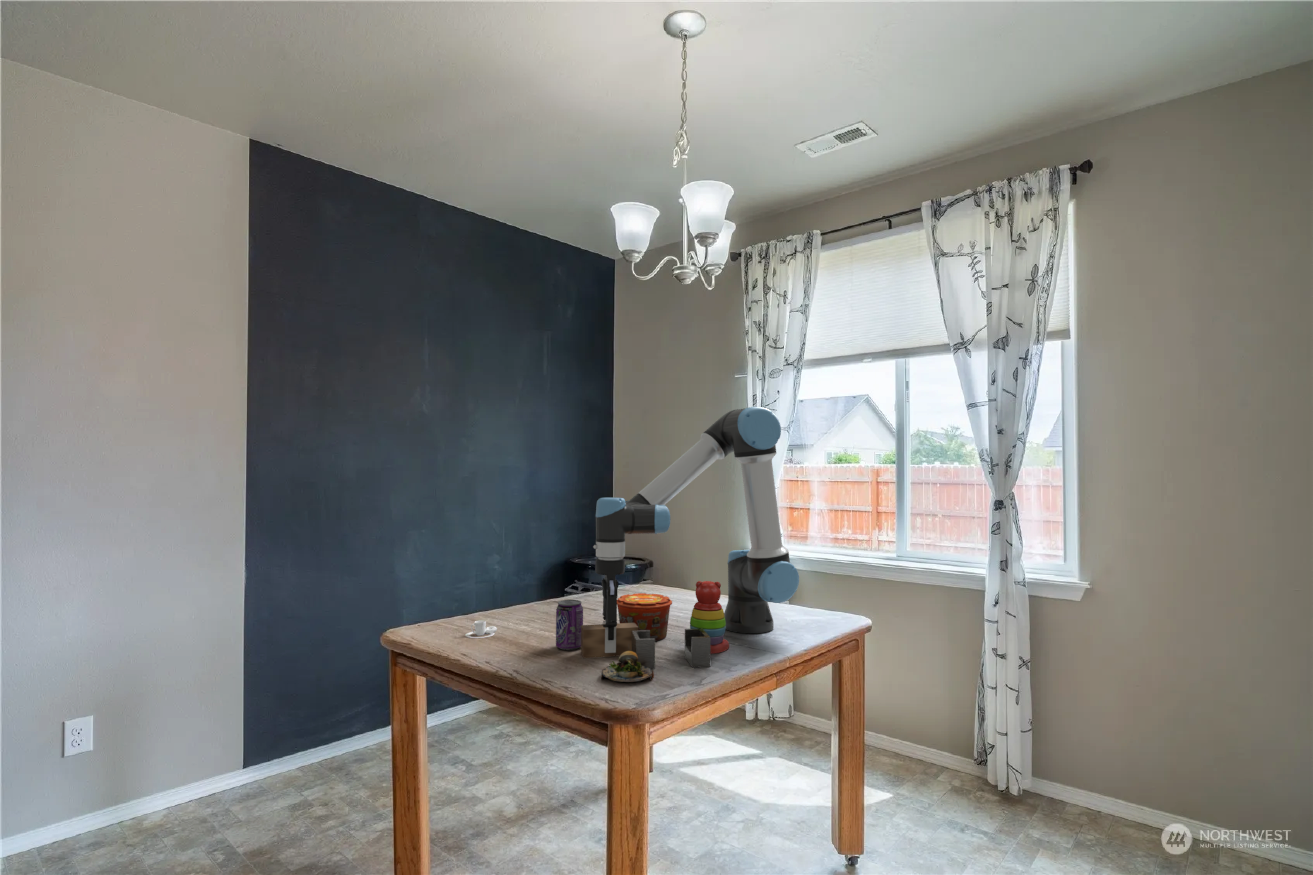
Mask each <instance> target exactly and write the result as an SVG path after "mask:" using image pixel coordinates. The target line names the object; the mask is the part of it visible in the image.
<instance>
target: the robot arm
mask: <svg viewBox="0 0 1313 875" xmlns="http://www.w3.org/2000/svg"><path fill="white" fill-rule="evenodd" d="M781 434H782V427H781V422H780V420H779V419H778V417H777V415H776V414H775V413H774V412H773V411H772V410H770V409H768V408H766V407H761V406H751V407H750V406H749V407H746V408H739V409H738V408H737V409H733V410H729V411H727V412H726V413H724V414H723V415H722V416H721V417H720V418H718V419H717V420H716V421H714V422H713V423H712V425H710V426H709V427H708V428H707V429H705V431H703V432H702V433H701V434H700V439H699V440H698V441H697V442H695V443H694V445H692V446H691V447H689V449H688V450H686V451H685V452H684V453H683V454H682V455H681V456H680V457H679V458H677V459H676V460H675V461H673V463H672V464H670V465H669V466H668V467H667V468H666V469H664V470H663V471H662V472H661V473H660V474H659V475H658V476H656V477H655V478H654V479H652V481H650V482H649V483H648V484H646V485H645V487H643V488H642V489H641V490H640V491H638V492H637V493H636V494H635V495H634V496H633V497H632V498H630V499H629V500H626V499H625V498H623V497H600V498H598V500H597V501H596V505H595V506H596V508H595V509H596V510H595V516H594V517H595V544H594V545H593V546H592V548H593V549H594V550H595V557H597V558H596V559H595V567H594V568H595V573H596V574H597V575H599V576H601V575H602V576H603V575H604V578H602V579H601V587H602V591H601V592H602V619H603V623H602V624H606V625H603V627H605V653H616V626H617V624H618V619H617V617H618V605H617V599H618V598H619V597H618V590H619V581H618V579H616V576H617V575H624V573H625V571H626V570H625V568H626V567H625V566H626V565H625V564H626V560H625V559H624V557H625V556H626V535H635V534H636V535H637V534H638V535H639V534H643V535H644V534H645V535H646V534H648V535H649V534H650V535H651V534H655V535H657V534H665V533H667V532H668V531H669V529H670V526H671V512H670V509H669V508H668V506H667V505H666V504H667V503H669V502H670V501H671V500H672V499H673V498H675V496H677V495H678V494H679V493H680V492H681V491H683V489H684V488H686V487H687V486H688V485H689V484H691V483H692V482H693V481H694V480H695V479H697V477H699V476H700V475H701V474H702V473H703V472H704V471H706V470H707V469H708V468H709V467H711V465H713V464H714V463H715V462H716V461H717V460H723V459H725V458H726V457H727V456H729V455H730V454H731V453H733V456H734V459H735V460H737V461H738V462H739V463H740V465H741V466H740V467H741V468H740V469H741V475H742V483H743V490H744V499H745V507H746V515H747V522H748V523H747V524H748V532H749V539H750V549H743V550H742V549H736V550H731V551H729V553H728V555H727V556H728V558H727V593H728V594H727V597H728V598H727V603H726V606H725V609H724V617H725V622H726V625H725V626H726V628H725V631H726V630H727V631H730V632H733V633H740V634H741V633H742V634H761V633H762V634H763V633H769V632H771V631H773V630H774V618H773V615H772V612H771V609H770V606H769V603H773V604H781V603H785V602H787V601H788V600H790V599H791V598H792V597H793V596H794V594H795V593H796V592H797V590H798V588H799V584H800V575H799V571H798V569H797V568H796V567H795V566H794V564H792V563H791V562H790V553H789V552H790V551H789V550H788V548H786V547H785V546H784V545H783V541H782V533H781V525H780V517H779V508H778V500H777V499H778V498H777V493H776V491H777V490H776V483H775V475H774V466H773V458H774V457H775V456H776V455H777V447H776V446H777V443H778V441H779V440H780V438H781Z"/></svg>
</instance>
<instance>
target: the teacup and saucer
mask: <svg viewBox="0 0 1313 875" xmlns="http://www.w3.org/2000/svg"><path fill="white" fill-rule="evenodd" d="M473 626H474V629H473ZM486 626H487V620H475V621H474V623H472V624H471V625H470V630H471V631H470V632H466V634H465V637H466V638H469V639H483V638H484V639H485V638H490V637H492V636H494V635H495V633H496V632H497V630H498V628H497V627H496V626H494V625H491V626H487V627H486ZM473 634H474V635H475V636H471V635H473ZM485 634H486V635H485ZM484 635H485V636H484Z"/></svg>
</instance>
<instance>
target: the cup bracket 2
mask: <svg viewBox="0 0 1313 875" xmlns="http://www.w3.org/2000/svg"><path fill="white" fill-rule="evenodd" d="M684 658H685V660H686V661H687V663H688V665H689V666H691V669H692V668H694V669H695V668H710V667H711V654H710V636H709V635H708V634H707V633H706V632H705V631H704V630H703V629H702V628H698V629H690V628H685V629H684Z"/></svg>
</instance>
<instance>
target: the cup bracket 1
mask: <svg viewBox="0 0 1313 875" xmlns="http://www.w3.org/2000/svg"><path fill="white" fill-rule="evenodd" d="M632 652H635V653H636V654H637V656H638V660H637V662H640V663H641V665H643V666H646V667H649V668H651V669H652V670H655V669H656V641H655V639H654V638H650V630H638V631H632Z"/></svg>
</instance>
